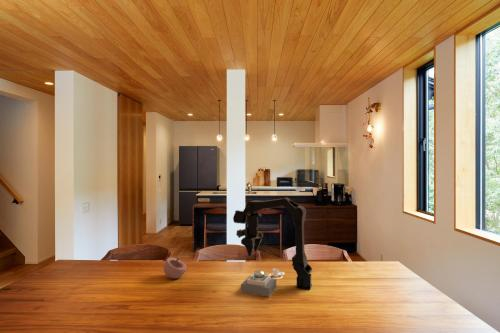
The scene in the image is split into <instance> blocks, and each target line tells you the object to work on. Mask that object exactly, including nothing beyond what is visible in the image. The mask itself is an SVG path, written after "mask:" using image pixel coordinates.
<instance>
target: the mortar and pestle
mask: <svg viewBox="0 0 500 333" xmlns="http://www.w3.org/2000/svg"><path fill="white" fill-rule="evenodd" d="M163 272H164V274H165V275H166V276H167V278H169V279H179V278H181V277H182V276H184V274H185V273H186V272H187V264H186V263H185V262H183V260H181V258H180V256H177V258H176V257H173V256H172V257H167V259H166V260H165V261H164V263H163Z"/></svg>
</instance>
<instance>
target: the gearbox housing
mask: <svg viewBox="0 0 500 333" xmlns="http://www.w3.org/2000/svg"><path fill="white" fill-rule="evenodd" d="M271 277H272V275H269V274H264V279H265V280H264V281H260V280H254V272H253V273H252V274H250V275H249V276H248V277H247V278H245V280H243V281H242V282H241V284H240V291H241V294H247V293H248V294H247V295H253V294H254V295H253V296H259V295H262V296H261V297H266V296H268V297H267V298H270V297H271V296H272V294H273V293H274V292H275V290H276V288H277V279H273V278H274V277H272V278H271ZM274 289H275V290H274ZM272 292H273V293H272ZM270 295H271V296H270Z"/></svg>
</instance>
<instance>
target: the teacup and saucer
mask: <svg viewBox="0 0 500 333" xmlns="http://www.w3.org/2000/svg"><path fill="white" fill-rule="evenodd" d="M271 274H273V275H271ZM268 275H271V276H273V277H272V278H273V279H276V280H280V279H283V277H284V276H285V272H284V271H279V269H278V268H272V270H271V272H270V273H269V274H268Z"/></svg>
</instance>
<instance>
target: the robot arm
mask: <svg viewBox="0 0 500 333" xmlns="http://www.w3.org/2000/svg"><path fill="white" fill-rule="evenodd" d="M277 207H279V208H280V207H284V208H285V209H286V211H288V212H289V213H290V215H291V218H292V221H293V224H294V239H295V254H294V255H293V256H292V257H291V262H292V263H291V266H292V268H293V270H294V271H295V272H296V275H297V276H296V288H297V289H301V290H306V291H307V290H308V291H310V290H311V288H312V287H313V283H312V270H313V267H312V266H311V265H310V264H309V262H308V258H307V255H306V250H305V227H304V226H305V225H304V224H305V222H306V221H305V220H306V217H307V216H306V215H307V210H306V208H305V207H304V206H303V205H299V204H298V203H297V202H294V201H293V200H292V199H290V198H289V197H283V198H278V199H269V200H257V199H256V200H251V201H248V202H246V204H245V208H244V209H243V210H235V211H234V212H235V213H234V214H233V217H232V219H233V223H235V224H244V225H245V224H247V226H245V228H242V229H237V230H236V233H235V234H236V236H237V238H239V239H241V237H242V239H241V240H240V244H241V245H243V246H244V247H245V248H246V253H247V255H248V257H251V256H252V254H253V251H254V252H258V249H259V246H260V245H261V242H262V240H263V238H264V232H263V231H259V229H260V226H259V218H260V217H262V216H263V215H262V214H261V213H260V210H263V209H270V208H272V209H273V208H277Z"/></svg>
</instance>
